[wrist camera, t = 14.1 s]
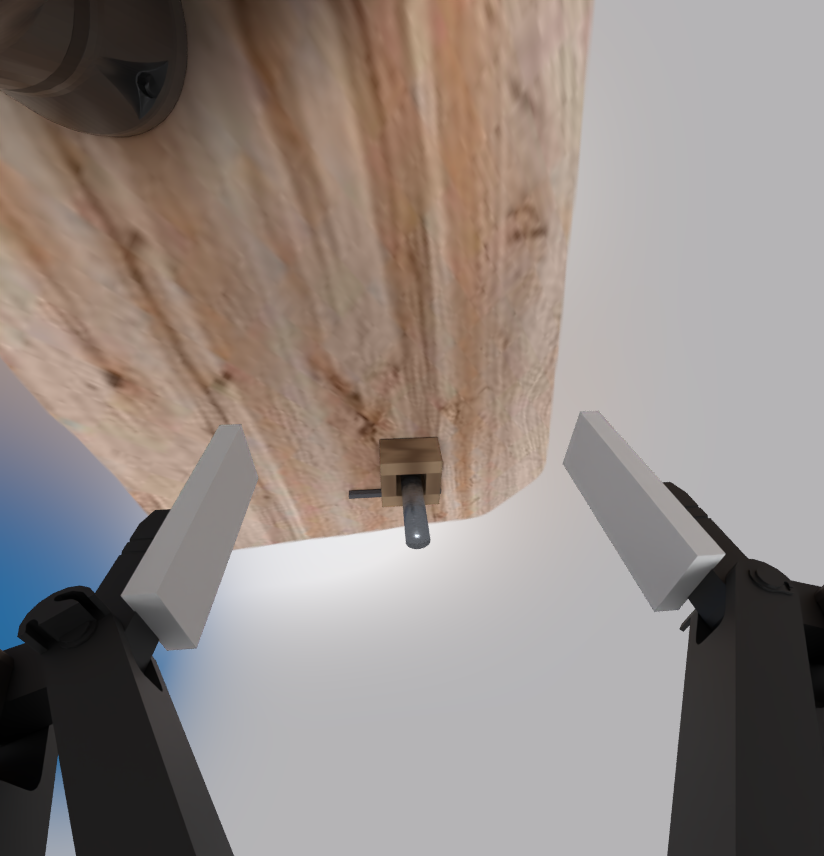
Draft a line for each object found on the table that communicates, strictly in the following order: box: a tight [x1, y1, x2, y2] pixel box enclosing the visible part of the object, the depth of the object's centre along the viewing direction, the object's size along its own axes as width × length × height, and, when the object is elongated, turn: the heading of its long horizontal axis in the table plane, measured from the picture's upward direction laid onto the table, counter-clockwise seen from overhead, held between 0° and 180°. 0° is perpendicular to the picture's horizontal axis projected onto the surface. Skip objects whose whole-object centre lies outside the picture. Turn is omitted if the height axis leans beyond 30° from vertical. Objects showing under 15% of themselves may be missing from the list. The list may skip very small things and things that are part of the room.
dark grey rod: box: [349, 487, 441, 499], centre depth 56 cm, size 14×1×1 cm, turn 89°
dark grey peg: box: [400, 474, 430, 549], centre depth 48 cm, size 3×3×14 cm
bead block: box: [380, 438, 443, 507], centre depth 51 cm, size 8×8×5 cm
